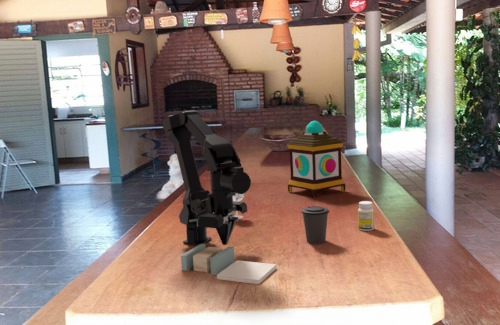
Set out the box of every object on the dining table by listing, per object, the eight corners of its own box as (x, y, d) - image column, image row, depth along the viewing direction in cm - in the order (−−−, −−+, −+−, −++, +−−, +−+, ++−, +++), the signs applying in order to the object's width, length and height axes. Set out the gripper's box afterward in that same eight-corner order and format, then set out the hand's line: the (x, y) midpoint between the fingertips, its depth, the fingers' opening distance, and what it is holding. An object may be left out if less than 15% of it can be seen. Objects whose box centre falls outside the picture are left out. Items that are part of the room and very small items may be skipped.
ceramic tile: (237, 264, 136) (237, 260, 136) (276, 268, 131) (276, 264, 131) (216, 278, 126) (216, 274, 126) (258, 284, 121) (258, 280, 121)
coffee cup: (301, 237, 156) (300, 204, 155) (328, 236, 156) (327, 203, 154) (303, 245, 148) (301, 211, 147) (331, 244, 148) (330, 210, 146)
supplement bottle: (364, 226, 165) (363, 200, 164) (377, 228, 162) (376, 201, 160) (355, 229, 162) (354, 203, 160) (368, 232, 158) (368, 205, 157)
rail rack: (201, 258, 142) (200, 243, 141) (234, 261, 138) (233, 246, 137) (181, 270, 133) (180, 255, 132) (216, 274, 129) (215, 259, 128)
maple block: (210, 261, 140) (209, 246, 139) (223, 262, 138) (222, 248, 137) (193, 271, 133) (192, 255, 132) (207, 272, 131) (206, 257, 130)
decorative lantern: (350, 191, 217) (349, 119, 213) (314, 199, 206) (311, 123, 202) (318, 185, 234) (316, 118, 229) (283, 192, 223) (280, 121, 218)
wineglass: (225, 218, 184) (223, 184, 182) (237, 214, 188) (235, 181, 186) (237, 220, 180) (235, 186, 178) (248, 216, 184) (247, 183, 182)
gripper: (212, 181, 153) (215, 233, 155) (177, 194, 136) (181, 252, 139) (246, 182, 148) (249, 235, 151) (215, 196, 132) (218, 256, 134)
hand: (224, 244), depth 143 cm, fingers closed
